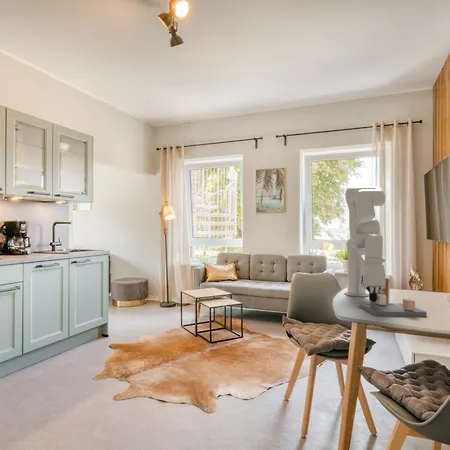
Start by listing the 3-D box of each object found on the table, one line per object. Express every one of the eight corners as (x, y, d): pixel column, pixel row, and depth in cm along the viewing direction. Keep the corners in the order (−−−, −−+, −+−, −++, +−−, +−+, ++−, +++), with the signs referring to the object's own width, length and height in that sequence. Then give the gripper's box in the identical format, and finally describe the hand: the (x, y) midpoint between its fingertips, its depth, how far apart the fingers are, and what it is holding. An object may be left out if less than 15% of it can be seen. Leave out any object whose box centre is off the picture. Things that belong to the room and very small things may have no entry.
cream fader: (375, 302, 164) (375, 294, 164) (381, 302, 164) (381, 294, 164) (379, 304, 160) (379, 295, 160) (386, 304, 160) (386, 295, 160)
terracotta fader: (402, 307, 154) (403, 298, 154) (409, 308, 154) (409, 298, 154) (408, 310, 150) (408, 300, 150) (414, 310, 150) (415, 300, 150)
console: (359, 307, 164) (359, 303, 164) (405, 307, 165) (405, 303, 165) (375, 316, 148) (375, 311, 148) (426, 316, 149) (426, 311, 149)
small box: (370, 303, 175) (370, 276, 175) (372, 300, 180) (372, 275, 180) (388, 305, 171) (388, 278, 171) (389, 302, 176) (390, 276, 176)
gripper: (385, 260, 166) (384, 299, 166) (354, 260, 165) (353, 299, 165) (393, 262, 158) (393, 303, 158) (360, 261, 158) (360, 303, 158)
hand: (372, 301), depth 162 cm, fingers closed
